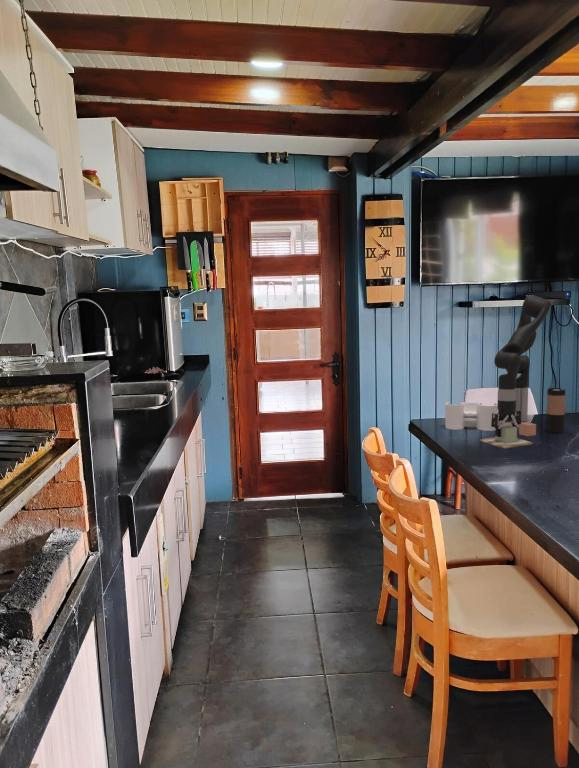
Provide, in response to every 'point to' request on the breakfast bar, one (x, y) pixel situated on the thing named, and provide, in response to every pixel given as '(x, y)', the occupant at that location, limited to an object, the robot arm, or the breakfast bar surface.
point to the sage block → (508, 434)
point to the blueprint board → (506, 445)
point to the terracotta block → (527, 429)
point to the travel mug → (555, 410)
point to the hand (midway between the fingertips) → (506, 435)
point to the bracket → (469, 416)
